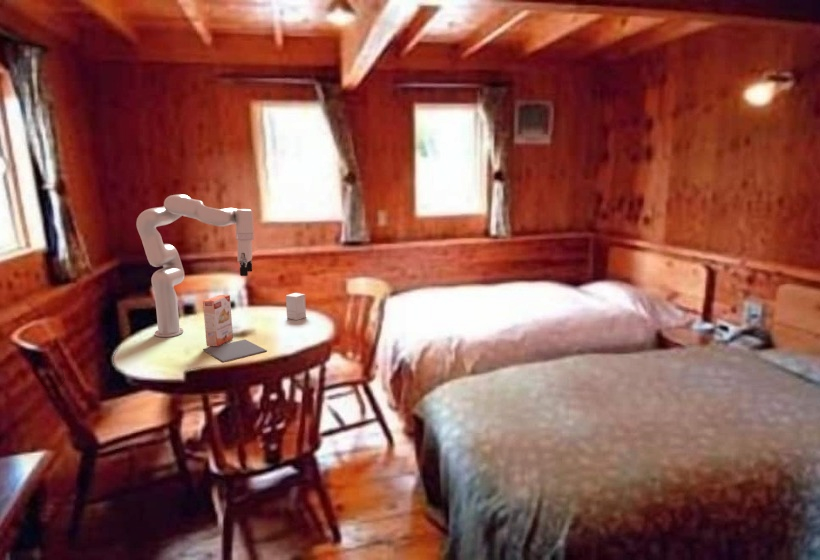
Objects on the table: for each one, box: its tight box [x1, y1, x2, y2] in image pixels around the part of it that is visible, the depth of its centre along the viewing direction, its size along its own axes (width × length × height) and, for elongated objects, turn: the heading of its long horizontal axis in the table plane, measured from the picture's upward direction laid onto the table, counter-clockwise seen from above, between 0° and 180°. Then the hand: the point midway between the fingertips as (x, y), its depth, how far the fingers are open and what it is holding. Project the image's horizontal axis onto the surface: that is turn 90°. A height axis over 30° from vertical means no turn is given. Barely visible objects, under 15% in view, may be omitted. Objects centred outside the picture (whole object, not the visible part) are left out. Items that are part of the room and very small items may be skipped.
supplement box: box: [285, 292, 307, 321], centre depth 296 cm, size 7×7×13 cm
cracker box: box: [202, 294, 234, 347], centre depth 254 cm, size 14×6×21 cm, turn 168°
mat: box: [202, 339, 268, 363], centre depth 246 cm, size 20×20×1 cm
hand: (246, 273), depth 258 cm, fingers open, 9 cm apart
